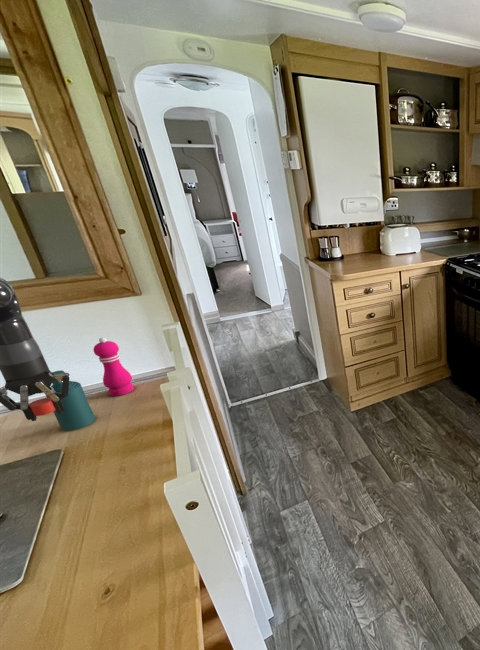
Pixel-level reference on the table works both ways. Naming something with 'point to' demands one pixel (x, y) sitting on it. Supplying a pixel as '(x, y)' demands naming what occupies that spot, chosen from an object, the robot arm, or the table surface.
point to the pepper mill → (113, 368)
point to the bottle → (73, 406)
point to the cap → (42, 406)
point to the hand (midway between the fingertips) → (47, 415)
